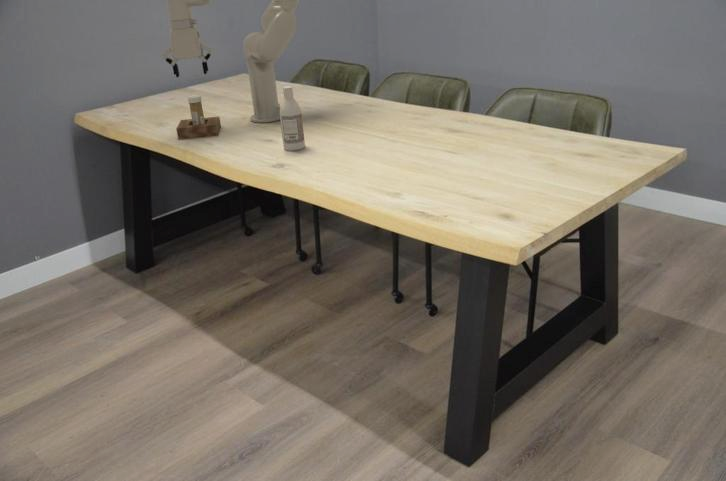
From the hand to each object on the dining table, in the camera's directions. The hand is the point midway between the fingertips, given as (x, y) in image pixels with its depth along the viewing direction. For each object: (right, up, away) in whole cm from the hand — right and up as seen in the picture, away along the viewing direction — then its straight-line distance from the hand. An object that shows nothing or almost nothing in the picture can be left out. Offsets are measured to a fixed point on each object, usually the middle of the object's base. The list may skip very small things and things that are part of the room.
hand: (191, 74), depth 252 cm
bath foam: (+38, -28, -17) cm, 50 cm away
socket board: (+1, -19, +8) cm, 21 cm away
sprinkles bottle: (+1, -19, +8) cm, 21 cm away
